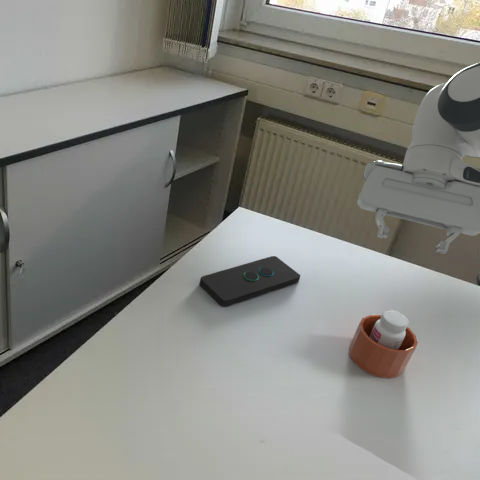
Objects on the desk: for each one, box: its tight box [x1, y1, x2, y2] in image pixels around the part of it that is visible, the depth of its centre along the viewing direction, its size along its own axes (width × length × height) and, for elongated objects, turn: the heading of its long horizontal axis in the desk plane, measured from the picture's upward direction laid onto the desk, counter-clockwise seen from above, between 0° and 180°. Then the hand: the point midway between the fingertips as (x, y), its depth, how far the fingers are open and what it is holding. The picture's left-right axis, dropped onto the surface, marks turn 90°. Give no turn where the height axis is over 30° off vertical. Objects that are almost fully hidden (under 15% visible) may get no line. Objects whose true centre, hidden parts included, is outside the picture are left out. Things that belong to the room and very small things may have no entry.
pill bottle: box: [369, 309, 410, 350], centre depth 90 cm, size 5×5×8 cm
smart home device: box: [198, 255, 301, 308], centre depth 108 cm, size 8×2×20 cm
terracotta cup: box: [348, 314, 419, 379], centre depth 91 cm, size 9×9×6 cm
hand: (411, 244), depth 93 cm, fingers open, 8 cm apart
